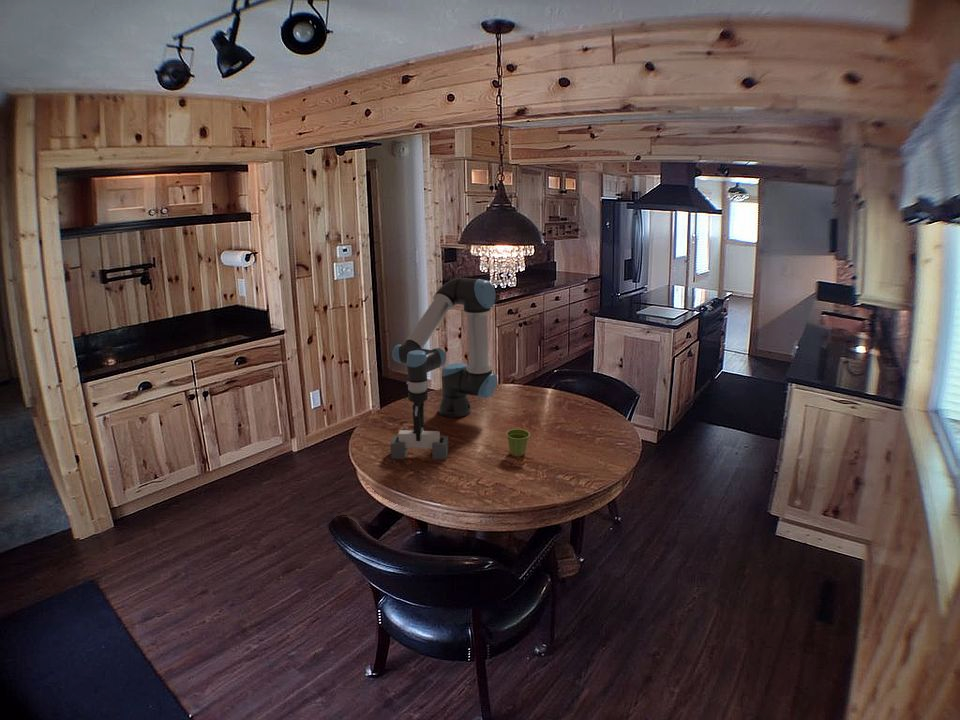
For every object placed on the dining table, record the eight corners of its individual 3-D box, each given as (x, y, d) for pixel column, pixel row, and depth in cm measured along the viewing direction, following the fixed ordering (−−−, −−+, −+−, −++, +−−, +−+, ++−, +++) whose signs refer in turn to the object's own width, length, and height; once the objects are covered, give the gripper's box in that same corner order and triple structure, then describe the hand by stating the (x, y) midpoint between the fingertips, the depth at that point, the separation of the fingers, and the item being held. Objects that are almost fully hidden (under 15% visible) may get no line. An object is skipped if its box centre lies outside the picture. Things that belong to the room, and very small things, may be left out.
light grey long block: (439, 444, 239) (439, 431, 237) (438, 448, 236) (438, 434, 234) (400, 443, 240) (399, 430, 238) (398, 447, 236) (398, 433, 235)
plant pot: (529, 448, 244) (529, 429, 241) (529, 459, 235) (529, 439, 232) (506, 447, 244) (506, 428, 242) (505, 458, 235) (505, 438, 233)
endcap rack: (448, 450, 242) (448, 436, 240) (446, 459, 235) (446, 444, 233) (394, 449, 243) (394, 435, 241) (391, 458, 236) (390, 443, 234)
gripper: (411, 382, 239) (413, 436, 246) (404, 397, 223) (407, 454, 230) (430, 383, 238) (431, 436, 245) (424, 397, 222) (426, 454, 229)
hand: (419, 445), depth 237 cm, fingers closed on light grey long block, 3 cm apart
